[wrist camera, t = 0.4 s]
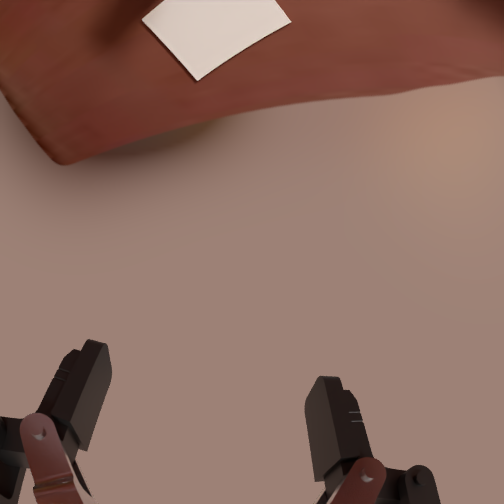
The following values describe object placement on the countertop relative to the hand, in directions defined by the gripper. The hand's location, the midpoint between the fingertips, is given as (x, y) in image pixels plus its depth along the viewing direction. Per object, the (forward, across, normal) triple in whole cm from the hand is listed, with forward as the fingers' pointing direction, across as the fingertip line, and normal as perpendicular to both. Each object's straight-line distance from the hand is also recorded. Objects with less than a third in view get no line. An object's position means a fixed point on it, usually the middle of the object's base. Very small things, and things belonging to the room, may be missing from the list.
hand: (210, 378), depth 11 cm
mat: (+25, +6, -18) cm, 32 cm away
